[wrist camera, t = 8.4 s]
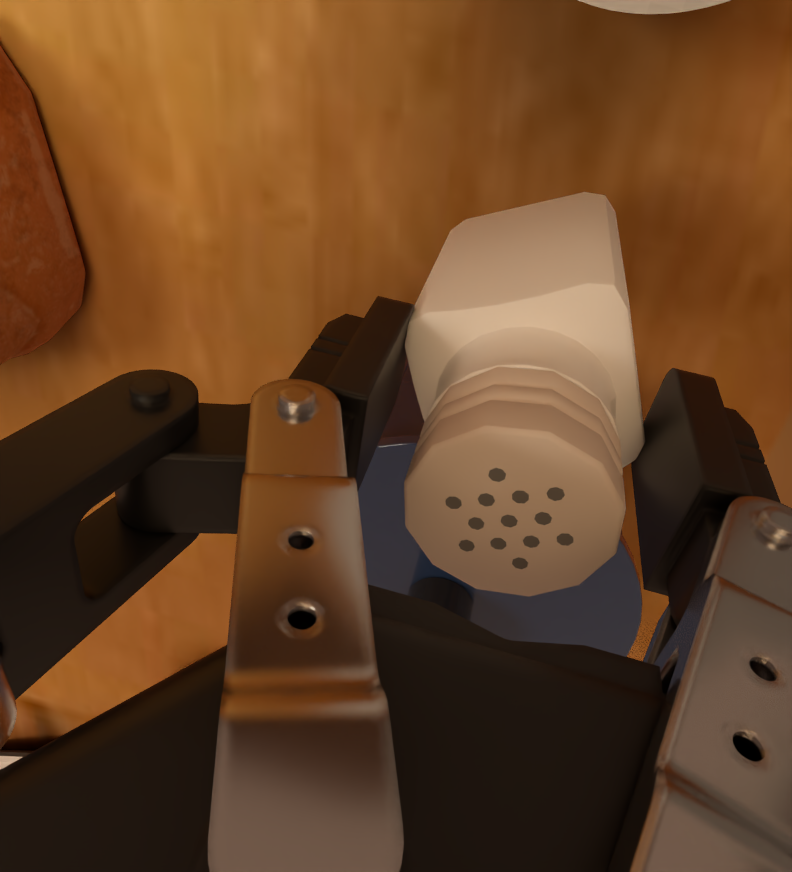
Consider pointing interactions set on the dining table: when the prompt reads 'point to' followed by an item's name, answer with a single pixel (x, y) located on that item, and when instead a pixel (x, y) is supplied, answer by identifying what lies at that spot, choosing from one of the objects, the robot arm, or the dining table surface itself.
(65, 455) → the robot arm
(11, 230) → the bread
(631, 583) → the pot lid
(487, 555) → the salt shaker
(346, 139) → the dining table surface
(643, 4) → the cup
